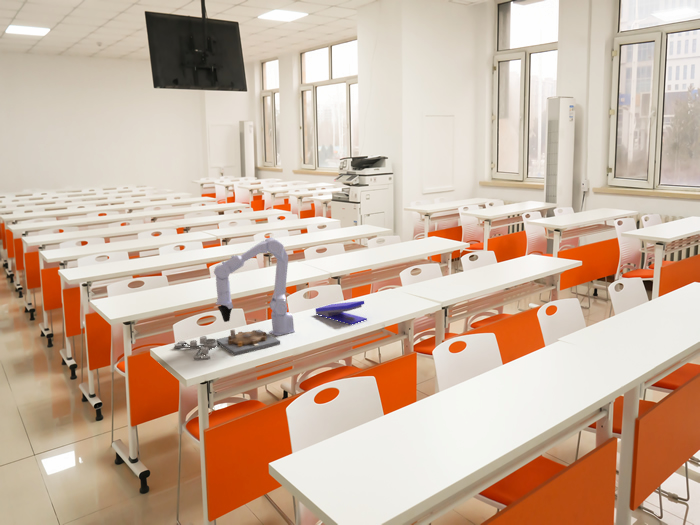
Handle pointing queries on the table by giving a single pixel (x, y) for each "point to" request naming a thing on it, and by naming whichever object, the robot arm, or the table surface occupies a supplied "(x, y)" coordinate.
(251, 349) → the board
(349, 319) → the stapler
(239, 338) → the brown flat round piece
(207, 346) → the pulley system
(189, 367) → the table surface
